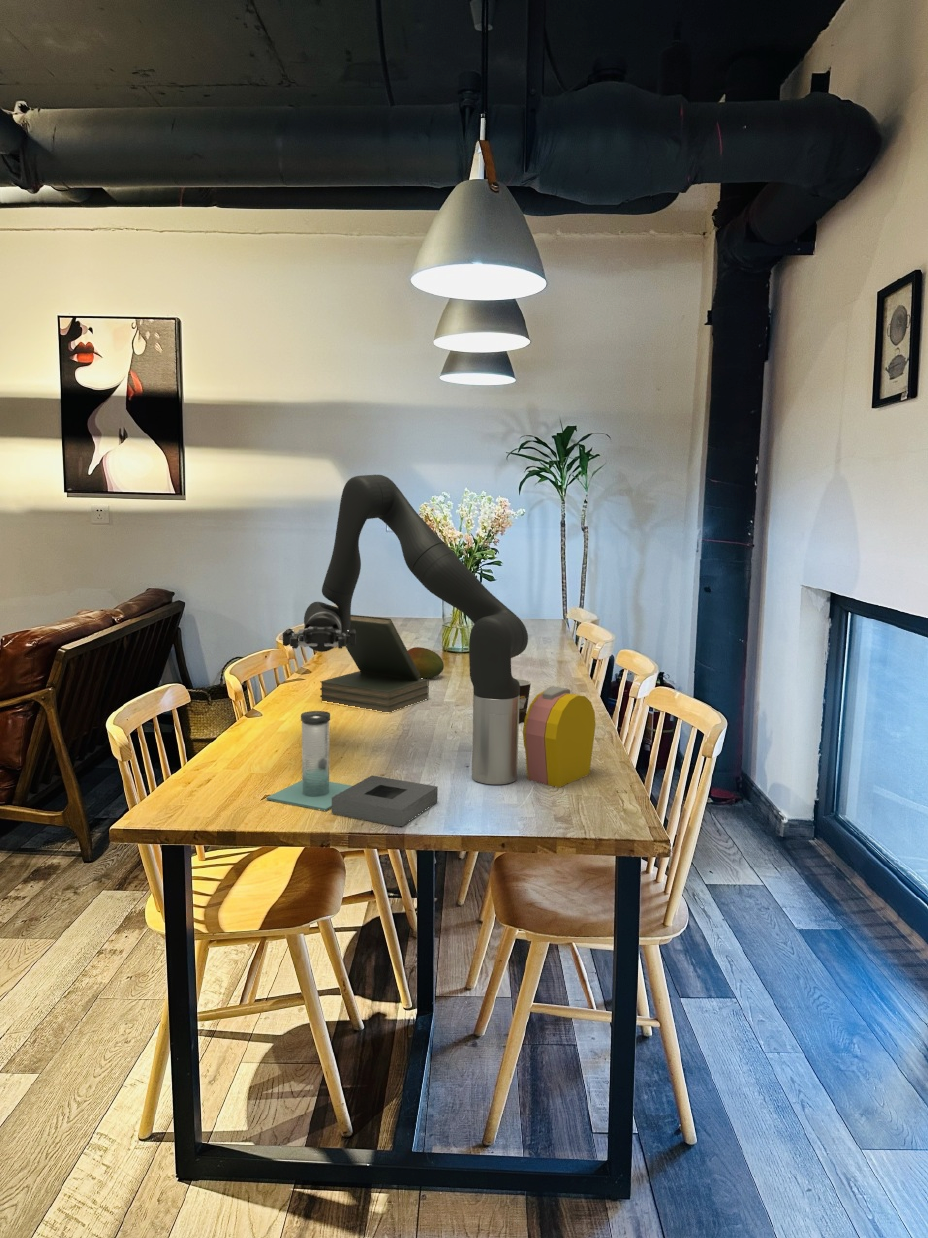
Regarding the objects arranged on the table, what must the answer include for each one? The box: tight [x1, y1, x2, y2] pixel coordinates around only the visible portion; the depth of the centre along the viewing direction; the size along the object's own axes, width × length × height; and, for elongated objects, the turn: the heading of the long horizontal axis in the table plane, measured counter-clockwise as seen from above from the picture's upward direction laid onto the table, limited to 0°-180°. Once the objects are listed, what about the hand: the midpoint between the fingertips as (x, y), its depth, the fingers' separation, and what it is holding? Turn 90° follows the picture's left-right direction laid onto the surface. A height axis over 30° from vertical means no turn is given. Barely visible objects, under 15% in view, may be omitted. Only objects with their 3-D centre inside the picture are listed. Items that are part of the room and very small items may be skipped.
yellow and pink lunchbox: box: [522, 685, 596, 788], centre depth 175 cm, size 15×8×18 cm, turn 141°
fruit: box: [407, 646, 445, 679], centre depth 271 cm, size 12×13×10 cm
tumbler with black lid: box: [300, 710, 331, 797], centre depth 161 cm, size 5×5×15 cm
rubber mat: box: [265, 779, 353, 812], centre depth 162 cm, size 13×13×1 cm
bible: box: [319, 614, 430, 713], centre depth 238 cm, size 23×20×25 cm
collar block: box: [331, 775, 439, 827], centre depth 156 cm, size 14×14×3 cm
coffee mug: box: [515, 678, 532, 724], centre depth 220 cm, size 12×9×10 cm
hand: (317, 643), depth 164 cm, fingers open, 8 cm apart
